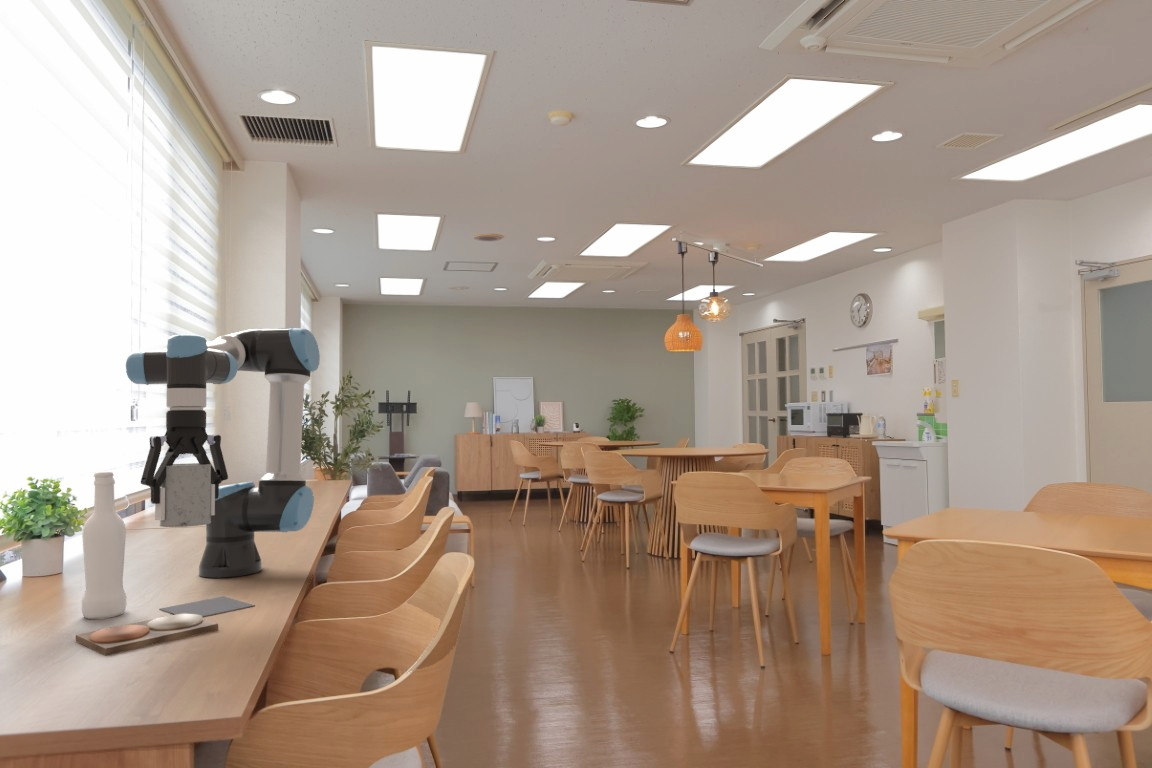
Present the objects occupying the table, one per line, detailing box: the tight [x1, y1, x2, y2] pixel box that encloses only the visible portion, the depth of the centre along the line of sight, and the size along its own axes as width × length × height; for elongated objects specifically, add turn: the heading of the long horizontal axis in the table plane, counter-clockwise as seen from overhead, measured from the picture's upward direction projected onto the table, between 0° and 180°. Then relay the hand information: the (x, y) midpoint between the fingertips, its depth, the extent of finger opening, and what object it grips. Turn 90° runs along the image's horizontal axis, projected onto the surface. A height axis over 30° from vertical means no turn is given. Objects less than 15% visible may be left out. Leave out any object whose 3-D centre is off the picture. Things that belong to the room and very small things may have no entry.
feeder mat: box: [159, 596, 256, 618], centre depth 173 cm, size 14×14×1 cm
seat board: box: [75, 613, 219, 656], centre depth 152 cm, size 20×14×2 cm
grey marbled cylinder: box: [159, 462, 212, 528], centre depth 166 cm, size 10×10×12 cm
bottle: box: [81, 470, 127, 620], centre depth 168 cm, size 8×8×30 cm
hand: (185, 517), depth 166 cm, fingers closed on grey marbled cylinder, 9 cm apart
